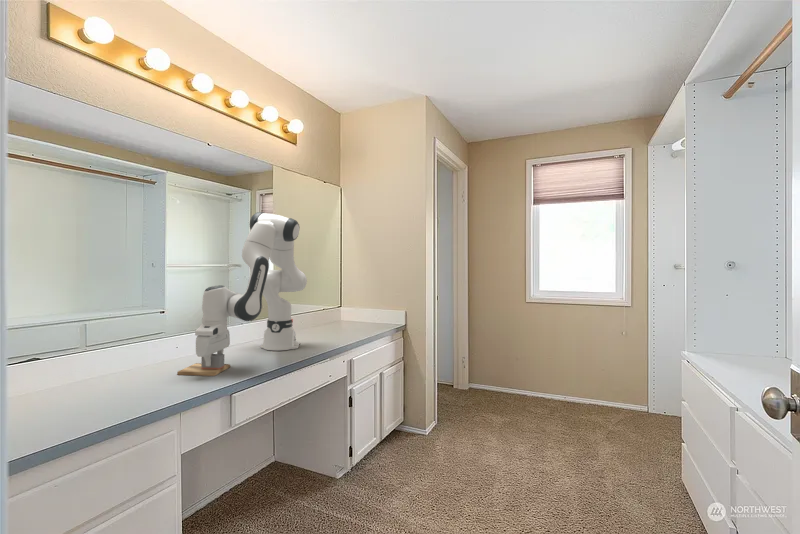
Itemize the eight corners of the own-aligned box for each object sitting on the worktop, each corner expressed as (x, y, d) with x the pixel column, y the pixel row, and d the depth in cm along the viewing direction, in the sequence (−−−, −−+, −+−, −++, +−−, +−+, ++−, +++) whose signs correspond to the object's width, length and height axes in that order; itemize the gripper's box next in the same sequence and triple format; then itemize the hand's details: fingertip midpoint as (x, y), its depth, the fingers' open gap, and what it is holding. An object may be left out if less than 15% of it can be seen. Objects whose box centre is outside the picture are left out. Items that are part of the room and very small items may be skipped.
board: (195, 366, 164) (195, 363, 164) (230, 367, 163) (230, 364, 163) (177, 374, 151) (177, 371, 151) (214, 375, 150) (214, 372, 150)
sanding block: (206, 366, 159) (206, 353, 159) (224, 366, 159) (224, 354, 159) (201, 369, 155) (201, 355, 155) (219, 369, 155) (219, 356, 155)
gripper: (219, 323, 167) (218, 357, 168) (192, 331, 147) (191, 369, 147) (234, 324, 167) (233, 357, 167) (209, 332, 147) (208, 370, 147)
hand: (213, 363), depth 157 cm, fingers open, 6 cm apart
